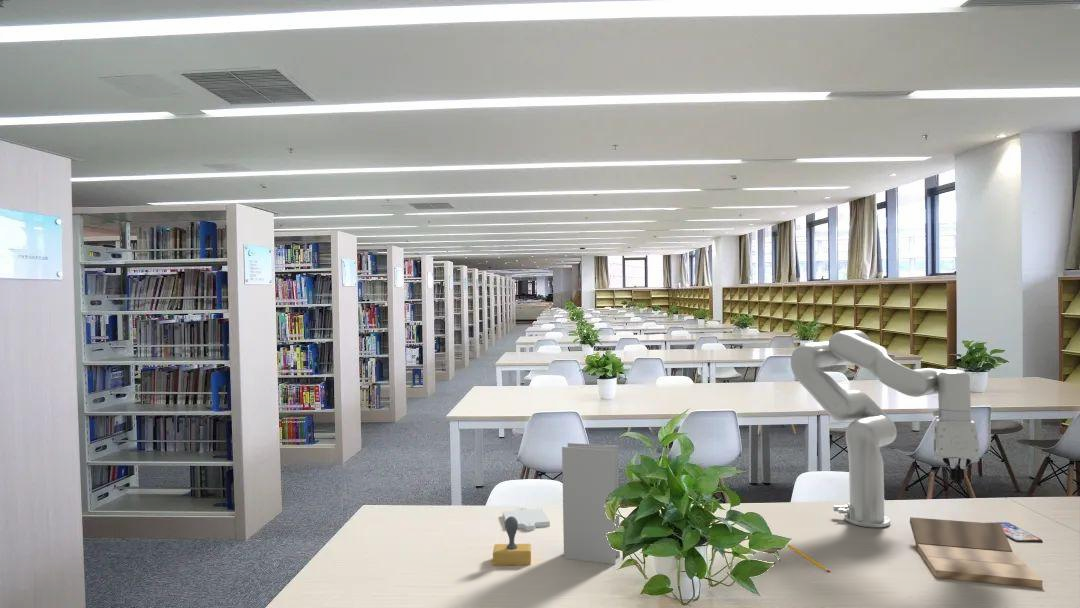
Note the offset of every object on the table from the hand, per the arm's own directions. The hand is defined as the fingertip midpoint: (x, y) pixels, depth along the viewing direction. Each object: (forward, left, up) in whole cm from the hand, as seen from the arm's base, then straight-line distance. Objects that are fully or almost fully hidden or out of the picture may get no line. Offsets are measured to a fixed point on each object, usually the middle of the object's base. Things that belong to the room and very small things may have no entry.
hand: (956, 482), depth 179 cm
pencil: (-40, -20, -18) cm, 48 cm away
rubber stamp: (-115, -43, -18) cm, 124 cm away
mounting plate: (-122, -12, -18) cm, 124 cm away
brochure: (-95, -35, -18) cm, 103 cm away
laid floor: (0, -16, -18) cm, 24 cm away
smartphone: (+18, +15, -18) cm, 30 cm away
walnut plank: (0, -2, -15) cm, 15 cm away
